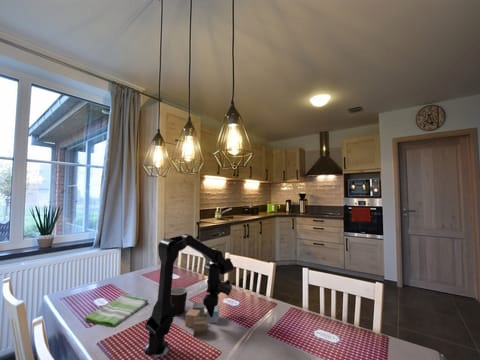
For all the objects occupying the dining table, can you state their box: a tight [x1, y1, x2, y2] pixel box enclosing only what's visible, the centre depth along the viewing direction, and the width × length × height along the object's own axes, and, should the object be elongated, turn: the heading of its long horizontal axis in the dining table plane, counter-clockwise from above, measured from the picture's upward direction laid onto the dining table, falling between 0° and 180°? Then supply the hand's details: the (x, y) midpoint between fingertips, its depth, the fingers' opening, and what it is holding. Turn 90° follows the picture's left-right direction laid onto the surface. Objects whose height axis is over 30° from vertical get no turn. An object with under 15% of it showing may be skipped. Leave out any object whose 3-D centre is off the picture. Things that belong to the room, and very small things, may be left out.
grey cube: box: [206, 305, 220, 324], centre depth 106 cm, size 5×5×5 cm
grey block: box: [192, 301, 205, 317], centre depth 109 cm, size 5×5×5 cm
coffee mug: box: [171, 286, 188, 316], centre depth 114 cm, size 12×9×10 cm
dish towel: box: [84, 293, 149, 328], centre depth 112 cm, size 17×23×4 cm
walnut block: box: [192, 316, 207, 337], centre depth 96 cm, size 5×5×5 cm
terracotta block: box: [184, 308, 200, 328], centre depth 102 cm, size 5×5×5 cm
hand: (213, 311), depth 106 cm, fingers open, 9 cm apart
